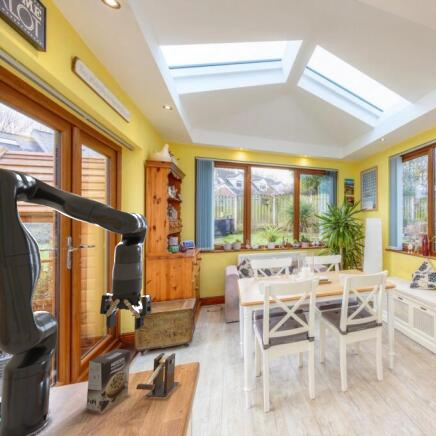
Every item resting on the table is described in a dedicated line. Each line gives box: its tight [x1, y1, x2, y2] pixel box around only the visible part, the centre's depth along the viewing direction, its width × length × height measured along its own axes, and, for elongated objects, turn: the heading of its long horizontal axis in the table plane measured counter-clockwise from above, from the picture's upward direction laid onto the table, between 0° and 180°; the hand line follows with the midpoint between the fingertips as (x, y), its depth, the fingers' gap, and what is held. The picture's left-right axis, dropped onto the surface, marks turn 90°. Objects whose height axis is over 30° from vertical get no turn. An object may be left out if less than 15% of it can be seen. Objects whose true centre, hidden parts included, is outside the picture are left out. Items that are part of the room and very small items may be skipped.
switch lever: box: [135, 354, 170, 391], centre depth 89 cm, size 12×5×2 cm, turn 179°
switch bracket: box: [145, 352, 180, 398], centre depth 94 cm, size 8×7×13 cm
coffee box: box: [86, 348, 131, 413], centre depth 87 cm, size 9×6×16 cm
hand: (125, 328), depth 81 cm, fingers open, 8 cm apart
